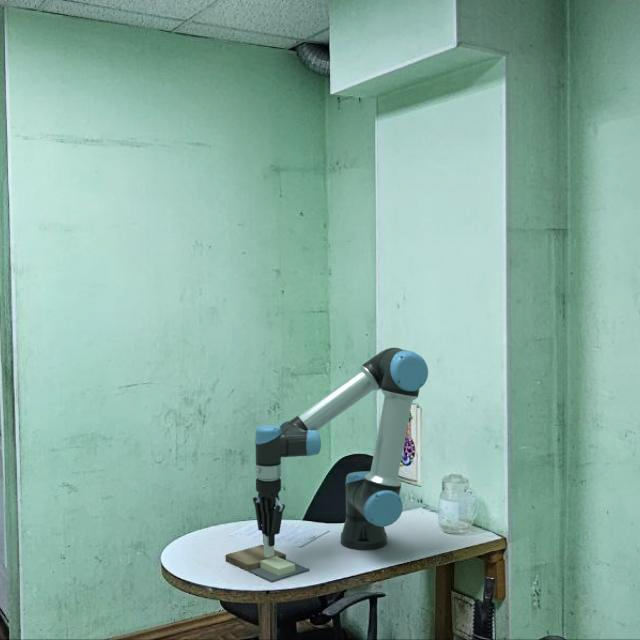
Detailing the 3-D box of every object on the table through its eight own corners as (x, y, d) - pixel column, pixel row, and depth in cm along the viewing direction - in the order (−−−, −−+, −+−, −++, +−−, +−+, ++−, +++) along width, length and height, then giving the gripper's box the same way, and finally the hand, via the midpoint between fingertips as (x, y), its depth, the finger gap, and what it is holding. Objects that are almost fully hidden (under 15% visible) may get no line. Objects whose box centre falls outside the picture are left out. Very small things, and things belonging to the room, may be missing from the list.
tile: (260, 567, 248) (260, 560, 248) (276, 562, 252) (276, 556, 252) (278, 576, 241) (278, 569, 241) (295, 571, 245) (295, 564, 245)
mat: (287, 561, 254) (287, 559, 254) (309, 570, 247) (309, 568, 247) (249, 572, 245) (249, 570, 245) (271, 582, 237) (271, 580, 237)
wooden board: (262, 550, 264) (262, 544, 264) (286, 560, 255) (286, 554, 255) (225, 561, 255) (225, 554, 255) (248, 571, 246) (248, 565, 246)
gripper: (245, 475, 251) (246, 552, 252) (271, 484, 241) (272, 564, 242) (265, 471, 255) (265, 547, 257) (292, 480, 246) (292, 558, 247)
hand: (269, 555), depth 250 cm, fingers closed
